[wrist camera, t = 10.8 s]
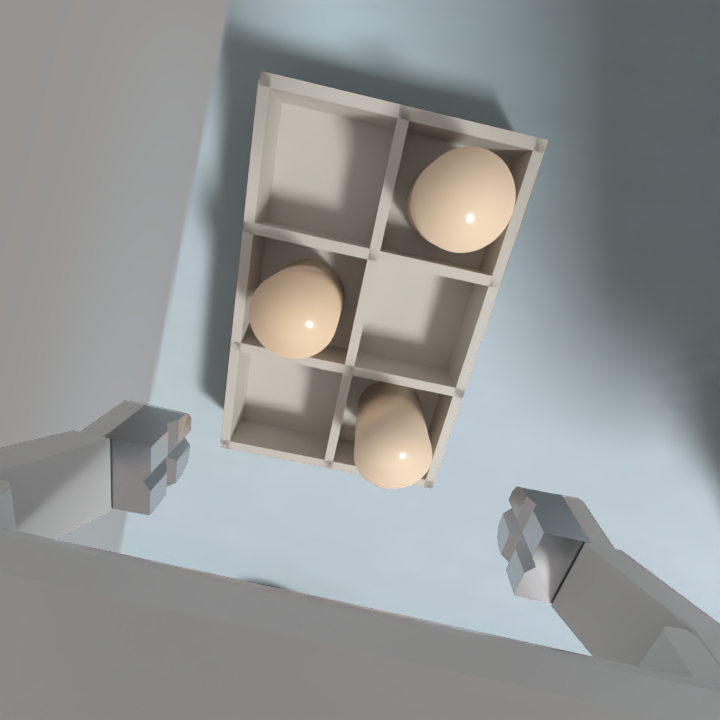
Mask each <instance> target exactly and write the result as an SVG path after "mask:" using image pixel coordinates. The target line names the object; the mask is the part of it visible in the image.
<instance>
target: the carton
mask: <svg viewBox="0 0 720 720" xmlns="http://www.w3.org/2000/svg"><path fill="white" fill-rule="evenodd" d="M547 143H548V140H547V139H542V138H538V137H534V136H530V135H526V134H522V133H517V132H513V131H509V130H505V129H501V128H497V127H493V126H488V125H484V124H480V123H476V122H472V121H468V120H463V119H459V118H455V117H451V116H447V115H443V114H439V113H434V112H430V111H426V110H422V109H418V108H414V107H409V106H405V105H401V104H397V103H393V102H389V101H384V100H380V99H376V98H372V97H368V96H364V95H360V94H355V93H351V92H347V91H343V90H339V89H335V88H330V87H326V86H322V85H318V84H314V83H310V82H306V81H301V80H297V79H293V78H289V77H285V76H281V75H276V74H272V73H268V72H264V71H260V70H259V78H258V87H257V97H256V106H255V116H254V125H253V135H252V145H251V154H250V164H249V173H248V183H247V192H246V202H245V212H244V221H243V231H242V240H241V250H240V260H239V269H238V279H237V288H236V298H235V307H234V317H233V327H232V336H231V346H230V355H229V365H228V375H227V384H226V394H225V403H224V413H223V422H222V432H221V442H220V447H223V448H228V449H233V450H238V451H243V452H248V453H253V454H258V455H263V456H269V457H274V458H279V459H284V460H289V461H294V462H299V463H304V464H309V465H314V466H320V467H325V468H330V469H335V470H340V471H345V472H350V473H355V474H360V473H359V471H358V469H357V467H356V465H355V461H354V446H355V433H356V420H357V406H358V401H359V399H360V396H361V395H362V393H363V392H364V391H365V390H366V389H367V388H368V387H369V386H371V385H372V384H374V383H376V382H379V381H381V382H386V383H391V384H396V385H401V386H406V387H410V388H412V389H413V390H414V391H415V392H416V394H417V396H418V397H419V400H420V404H421V408H422V412H423V416H424V420H425V424H426V428H427V431H428V435H429V439H430V443H431V448H432V462H431V465H430V468H429V469H428V471H427V473H426V474H425V475H424V476H423V477H422V478H421V479H420V480H419V481H417V482H416V483H414V484H412V485H416V486H421V487H427V488H432V487H433V484H434V481H435V478H436V475H437V472H438V469H439V466H440V463H441V460H442V457H443V454H444V451H445V448H446V445H447V442H448V439H449V436H450V433H451V430H452V427H453V424H454V421H455V418H456V415H457V412H458V409H459V406H460V403H461V400H462V397H463V394H464V391H465V388H466V385H467V382H468V379H469V376H470V373H471V370H472V367H473V364H474V361H475V358H476V355H477V352H478V349H479V346H480V343H481V340H482V337H483V334H484V331H485V328H486V325H487V323H488V320H489V317H490V314H491V311H492V308H493V305H494V302H495V299H496V296H497V293H498V290H499V287H500V284H501V281H502V278H503V275H504V272H505V269H506V266H507V263H508V260H509V257H510V254H511V251H512V248H513V245H514V242H515V239H516V236H517V233H518V230H519V227H520V224H521V221H522V218H523V215H524V212H525V209H526V206H527V203H528V200H529V197H530V194H531V191H532V188H533V185H534V182H535V179H536V176H537V173H538V170H539V167H540V164H541V161H542V158H543V155H544V152H545V149H546V146H547ZM466 146H474V147H481V148H484V149H487V150H489V151H491V152H493V153H494V154H496V155H497V156H499V157H500V158H501V159H502V160H503V161H504V163H505V164H506V165H507V167H508V168H509V170H510V172H511V174H512V177H513V180H514V184H515V191H516V198H515V206H514V210H513V213H512V216H511V219H510V221H509V223H508V224H507V226H506V228H505V229H504V230H503V232H502V233H501V234H500V235H499V236H498V237H497V238H496V239H495V240H494V241H493V242H491V243H490V244H489V245H487V246H485V247H483V248H481V249H479V250H476V251H472V252H466V253H456V252H450V251H447V250H444V249H442V248H440V247H438V246H436V245H434V244H432V243H430V242H428V241H427V240H425V239H423V238H422V237H420V236H419V235H418V234H417V233H416V232H415V231H414V230H413V228H412V227H411V225H410V223H409V221H408V218H407V214H406V197H407V193H408V190H409V188H410V185H411V184H412V182H413V180H414V179H415V178H416V176H417V175H418V174H419V173H420V172H421V171H423V170H424V169H425V168H426V167H428V166H429V165H430V164H431V163H432V162H434V161H435V160H436V159H437V158H439V157H440V156H441V155H443V154H445V153H446V152H448V151H451V150H453V149H456V148H459V147H466ZM305 259H312V260H317V261H320V262H323V263H325V264H327V265H328V266H330V267H331V268H332V269H333V270H334V271H335V272H336V273H337V274H338V276H339V277H340V279H341V281H342V284H343V287H344V292H345V299H344V304H343V308H342V311H341V315H340V318H339V321H338V325H337V328H336V331H335V334H334V336H333V338H332V340H331V341H330V343H329V344H328V345H327V346H326V347H325V348H324V349H323V350H322V351H320V352H319V353H317V354H315V355H313V356H311V357H307V358H303V359H290V358H285V357H281V356H279V355H276V354H274V353H272V352H271V351H269V350H268V349H266V348H265V347H264V346H263V345H262V344H261V343H260V342H259V340H258V339H257V337H256V336H255V334H254V332H253V330H252V327H251V324H250V320H249V306H250V302H251V299H252V296H253V294H254V292H255V291H256V289H257V288H258V287H259V286H260V285H261V283H263V282H264V281H265V280H266V279H268V278H270V277H271V276H273V275H274V274H276V273H278V272H279V271H281V270H282V269H284V268H285V267H287V266H289V265H290V264H292V263H294V262H296V261H299V260H305ZM360 475H361V474H360Z"/></svg>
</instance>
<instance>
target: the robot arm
mask: <svg viewBox="0 0 720 720" xmlns="http://www.w3.org/2000/svg"><path fill="white" fill-rule="evenodd" d="M190 430H191V417H190V415H189V414H187V413H183V412H179V411H175V410H170V409H166V408H162V407H158V406H154V405H148V404H145V403H141V402H136V401H132V400H125V401H123V402H122V403H120V404H119V405H117V406H116V407H115V408H113V409H112V410H110V411H109V412H107V413H106V414H105V415H103V416H102V417H100V418H99V419H97V420H96V421H95V422H93V423H92V424H90V425H89V426H88V427H86V428H84V429H83V430H82V431H80V432H78V431H73V430H72V431H68V432H64V433H60V434H56V435H51V436H47V437H43V438H39V439H35V440H30V441H26V442H22V443H18V444H14V445H9V446H6V447H2V448H0V720H720V624H719V623H718V622H717V621H715V620H714V619H713V618H711V617H710V616H709V615H707V614H706V613H705V612H703V611H702V610H701V609H699V608H698V607H697V606H695V605H694V604H693V603H691V602H690V601H689V600H687V599H686V598H685V597H683V596H682V595H680V594H679V593H678V592H676V591H675V590H674V589H672V588H671V587H670V586H668V585H667V584H666V583H664V582H663V581H662V580H660V579H659V578H658V577H656V576H655V575H654V574H652V573H651V572H650V571H648V570H647V569H646V568H644V567H643V566H642V565H640V564H639V563H638V562H636V561H635V560H634V559H632V558H631V557H630V556H628V555H627V554H626V553H624V552H623V551H622V550H617V549H615V548H614V547H613V545H612V544H611V542H610V541H609V539H608V538H607V536H606V535H605V533H604V532H603V530H602V529H601V527H600V526H599V524H598V523H597V521H596V520H595V518H594V517H593V515H592V514H591V512H590V511H589V509H588V508H587V506H586V505H585V503H584V502H583V501H582V500H580V499H579V498H575V497H570V496H564V495H559V494H552V493H547V492H542V491H537V490H532V489H527V488H522V487H516V488H515V489H514V490H513V491H512V494H511V496H510V498H509V501H510V504H511V507H512V508H511V509H510V510H508V511H507V512H505V513H504V514H503V515H502V517H501V520H500V523H499V527H498V536H497V537H498V546H499V549H500V552H501V554H502V556H503V557H504V558H505V559H506V560H507V561H508V562H509V564H508V566H507V569H506V571H507V574H508V577H509V580H510V583H511V586H512V589H513V592H514V595H516V596H520V597H524V598H529V599H533V600H537V601H541V602H545V603H549V604H552V605H551V606H552V608H553V609H554V610H555V611H556V612H557V614H558V615H559V616H560V617H561V618H562V620H563V621H564V622H565V623H566V625H567V626H568V627H569V628H570V629H571V631H572V632H573V633H574V634H575V635H576V637H577V638H578V639H579V640H580V642H581V643H582V644H583V645H584V646H585V648H586V649H587V650H588V651H589V652H590V654H591V655H592V656H593V657H592V656H588V655H583V654H578V653H574V652H569V651H565V650H560V649H555V648H551V647H546V646H542V645H537V644H533V643H528V642H523V641H519V640H514V639H510V638H505V637H501V636H496V635H491V634H487V633H482V632H478V631H473V630H469V629H464V628H459V627H455V626H450V625H446V624H441V623H437V622H432V621H428V620H423V619H418V618H414V617H409V616H405V615H400V614H396V613H391V612H386V611H382V610H377V609H372V608H368V607H363V606H359V605H354V604H349V603H345V602H340V601H335V600H331V599H326V598H322V597H317V596H312V595H308V594H303V593H298V592H294V591H289V590H284V589H280V588H275V587H271V586H266V585H262V584H257V583H252V582H248V581H243V580H239V579H234V578H229V577H225V576H220V575H216V574H211V573H207V572H202V571H197V570H193V569H188V568H184V567H179V566H175V565H170V564H165V563H161V562H156V561H152V560H147V559H142V558H138V557H133V556H129V555H124V554H120V553H115V552H110V551H106V550H101V549H97V548H92V547H87V546H83V545H78V544H73V543H69V542H64V541H60V540H55V539H57V538H59V537H61V536H63V535H65V534H67V533H68V532H70V531H72V530H74V529H76V528H78V527H80V526H82V525H84V524H86V523H88V522H90V521H92V520H93V519H95V518H97V517H99V516H101V515H103V514H105V513H107V512H109V511H111V508H114V509H119V510H124V511H129V512H135V513H140V514H145V515H150V514H151V513H152V512H153V511H154V509H155V508H156V507H157V506H158V504H159V503H160V502H161V501H162V500H163V498H164V497H165V496H166V487H167V486H169V485H172V484H174V483H176V482H177V481H178V479H179V478H180V477H181V475H182V473H183V471H184V469H185V467H186V465H187V462H188V457H189V451H190V445H189V443H188V442H187V440H186V438H185V436H186V435H187V434H188V433H189V431H190Z"/></svg>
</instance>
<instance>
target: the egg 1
mask: <svg viewBox="0 0 720 720" xmlns="http://www.w3.org/2000/svg"><path fill="white" fill-rule="evenodd" d="M344 299H345V292H344V287H343V284H342V281H341V279H340V277H339V276H338V274H337V273H336V272H335V271H334V270H333V269H332V268H331V267H330V266H328V265H327V264H325V263H323V262H320V261H317V260H312V259H305V260H299V261H296V262H294V263H292V264H290V265H289V266H287V267H285V268H284V269H282V270H281V271H279V272H278V273H276V274H274V275H273V276H271V277H270V278H268V279H266V280H265V281H264V282H263V283H261V285H260V286H259V287H258V288H257V289H256V291H255V292H254V294H253V296H252V299H251V302H250V306H249V320H250V324H251V327H252V330H253V332H254V334H255V336H256V337H257V339H258V340H259V342H260V343H261V344H262V345H263V346H264V347H265V348H266V349H268V350H269V351H271V352H272V353H274V354H276V355H279V356H281V357H285V358H290V359H303V358H307V357H311V356H313V355H315V354H317V353H319V352H320V351H322V350H323V349H324V348H325V347H326V346H327V345H328V344H329V343H330V341H331V340H332V338H333V336H334V334H335V331H336V328H337V325H338V321H339V318H340V315H341V311H342V308H343V304H344Z"/></svg>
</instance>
